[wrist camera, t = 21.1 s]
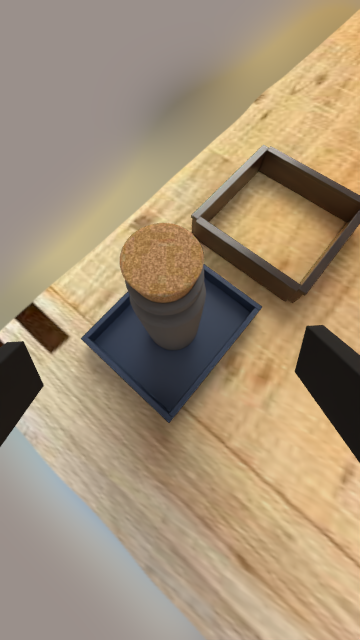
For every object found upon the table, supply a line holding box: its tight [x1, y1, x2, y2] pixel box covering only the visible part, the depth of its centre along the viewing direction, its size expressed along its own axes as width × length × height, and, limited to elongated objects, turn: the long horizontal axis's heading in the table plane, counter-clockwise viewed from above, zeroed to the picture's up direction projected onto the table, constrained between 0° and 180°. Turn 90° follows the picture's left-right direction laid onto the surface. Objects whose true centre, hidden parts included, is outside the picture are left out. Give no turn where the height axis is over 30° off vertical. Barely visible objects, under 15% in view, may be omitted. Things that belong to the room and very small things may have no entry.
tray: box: [81, 264, 262, 423], centre depth 26 cm, size 16×13×2 cm
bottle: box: [120, 223, 206, 350], centre depth 19 cm, size 6×6×15 cm
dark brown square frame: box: [191, 145, 360, 303], centre depth 29 cm, size 17×17×3 cm
